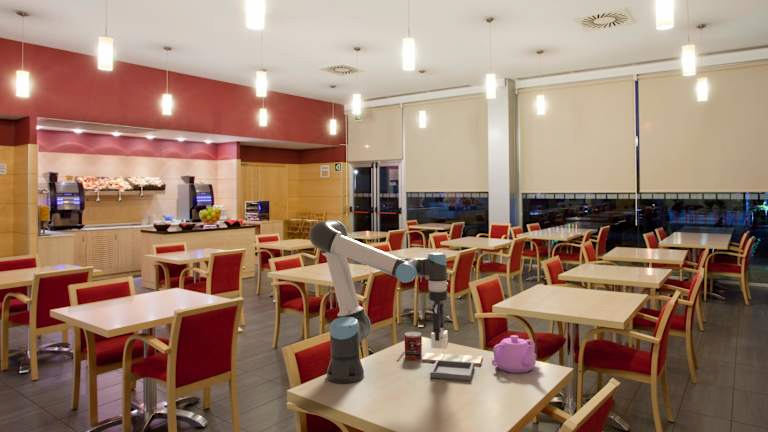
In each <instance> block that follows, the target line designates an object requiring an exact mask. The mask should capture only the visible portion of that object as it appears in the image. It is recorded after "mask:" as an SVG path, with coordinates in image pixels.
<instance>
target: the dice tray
mask: <svg viewBox="0 0 768 432" xmlns="http://www.w3.org/2000/svg"><path fill="white" fill-rule="evenodd" d="M474 369H475V366H474V362H463V361H448V360H436V362H435V363H434V364H433V365H432V368H431V370H430V372H429V379H433V380H444V381H446V380H447V381H456V382H457V381H458V382H471V380H472V377H473V373H474Z"/></svg>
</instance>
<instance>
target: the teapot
mask: <svg viewBox="0 0 768 432" xmlns="http://www.w3.org/2000/svg"><path fill="white" fill-rule="evenodd" d="M529 343H530V344H531V345H530V344H529ZM492 349H493V359H492V360H491V364H492V365H493V366H494V367H497V368H498V369H500V370H502V371H505V372H508V373H512V374H513V373H517V374H518V373H527V372H529V371H531V370H532V369H533V368H534V367H535V366H536V362H537V361H536V360H537V354H536V353H535V349H536V342H534V340H532V339H524V338H519V335H515V334H513V335H510V336H509V337H506V338H503V339H502V340H500V343H497V344H496V345H494V346H493V348H492Z"/></svg>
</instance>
